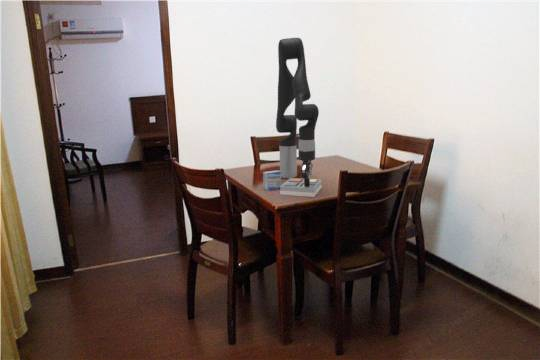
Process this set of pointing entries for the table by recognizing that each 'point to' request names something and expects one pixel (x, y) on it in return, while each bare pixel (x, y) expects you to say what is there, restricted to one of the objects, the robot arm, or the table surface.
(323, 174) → the table surface
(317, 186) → the keypad
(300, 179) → the terracotta key
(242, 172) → the table surface
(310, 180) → the cream key
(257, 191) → the table surface
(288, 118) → the robot arm
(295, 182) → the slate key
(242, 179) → the table surface
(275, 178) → the medicine box
